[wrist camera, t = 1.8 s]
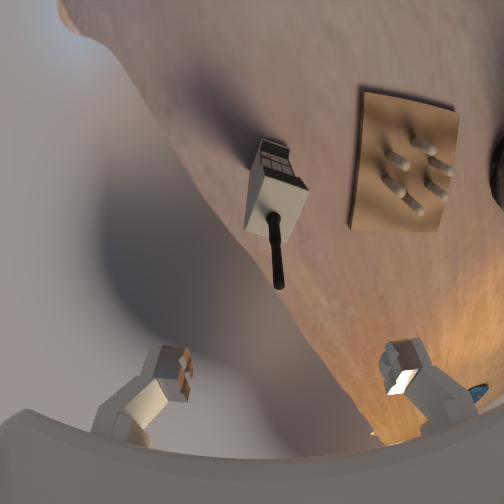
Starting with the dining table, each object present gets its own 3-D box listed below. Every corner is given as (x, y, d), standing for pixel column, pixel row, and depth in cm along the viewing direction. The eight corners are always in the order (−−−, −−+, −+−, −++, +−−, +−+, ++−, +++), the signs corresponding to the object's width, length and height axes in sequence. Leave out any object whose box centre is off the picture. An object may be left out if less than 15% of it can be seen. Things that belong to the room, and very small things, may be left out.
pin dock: (361, 91, 30) (379, 93, 25) (455, 112, 29) (480, 119, 24) (348, 226, 41) (360, 249, 36) (433, 229, 40) (451, 248, 35)
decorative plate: (443, 418, 96) (445, 427, 92) (423, 413, 87) (425, 424, 82) (492, 388, 82) (495, 396, 78) (482, 377, 72) (486, 388, 68)
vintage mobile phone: (289, 146, 35) (336, 251, 14) (276, 180, 37) (296, 318, 16) (261, 137, 34) (265, 228, 13) (249, 171, 37) (235, 303, 16)
